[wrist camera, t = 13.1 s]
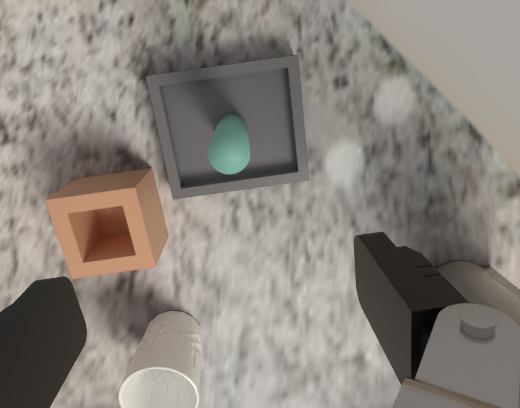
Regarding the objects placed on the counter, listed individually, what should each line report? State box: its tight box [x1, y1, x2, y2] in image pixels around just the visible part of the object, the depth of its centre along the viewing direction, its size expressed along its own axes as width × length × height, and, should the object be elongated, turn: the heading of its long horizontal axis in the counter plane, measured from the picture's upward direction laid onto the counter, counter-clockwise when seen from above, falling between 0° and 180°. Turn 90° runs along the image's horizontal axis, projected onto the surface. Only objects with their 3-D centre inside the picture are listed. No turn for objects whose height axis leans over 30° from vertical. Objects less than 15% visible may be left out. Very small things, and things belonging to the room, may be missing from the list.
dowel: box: [208, 113, 250, 174], centre depth 32 cm, size 3×3×12 cm
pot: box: [45, 168, 168, 279], centre depth 38 cm, size 8×8×7 cm
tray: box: [146, 55, 309, 199], centre depth 38 cm, size 14×12×2 cm
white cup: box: [118, 311, 202, 408], centre depth 42 cm, size 8×8×10 cm
